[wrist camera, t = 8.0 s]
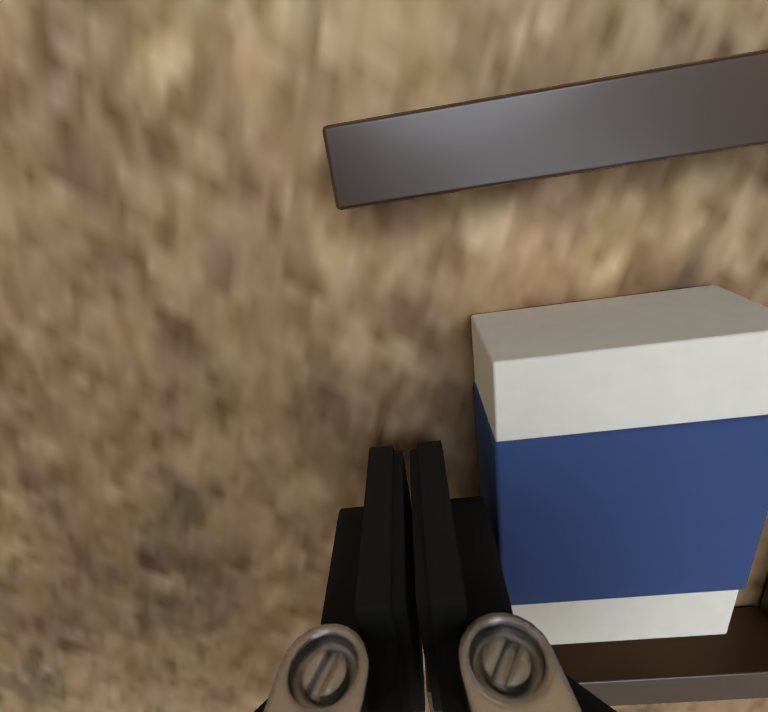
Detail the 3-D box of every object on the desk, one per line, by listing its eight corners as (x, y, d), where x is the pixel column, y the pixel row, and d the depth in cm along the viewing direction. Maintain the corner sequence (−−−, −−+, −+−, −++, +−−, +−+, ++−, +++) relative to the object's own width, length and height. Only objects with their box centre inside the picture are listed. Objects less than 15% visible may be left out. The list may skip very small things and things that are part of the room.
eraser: (468, 314, 9) (490, 365, 7) (717, 283, 9) (824, 327, 7) (484, 563, 13) (503, 653, 10) (669, 548, 12) (732, 639, 10)
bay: (335, 131, 8) (320, 126, 6) (1015, 15, 7) (1200, -27, 5) (427, 652, 14) (431, 716, 13) (792, 628, 13) (847, 694, 12)
